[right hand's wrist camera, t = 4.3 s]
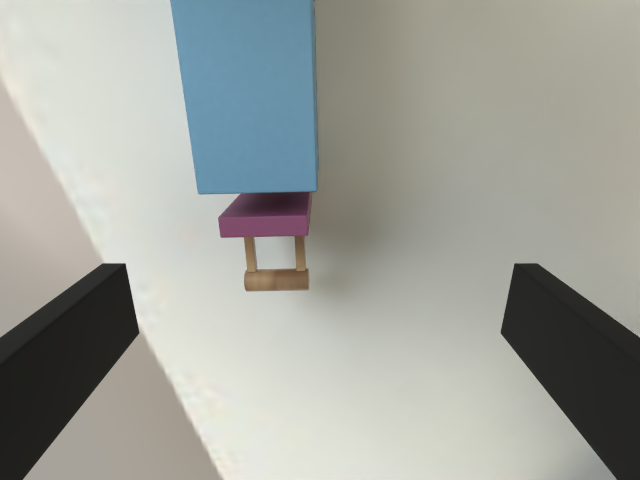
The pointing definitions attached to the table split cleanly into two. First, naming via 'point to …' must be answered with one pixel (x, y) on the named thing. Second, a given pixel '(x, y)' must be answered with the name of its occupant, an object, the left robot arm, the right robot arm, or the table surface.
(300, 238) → the drawer
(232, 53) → the cabinet
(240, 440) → the table surface
